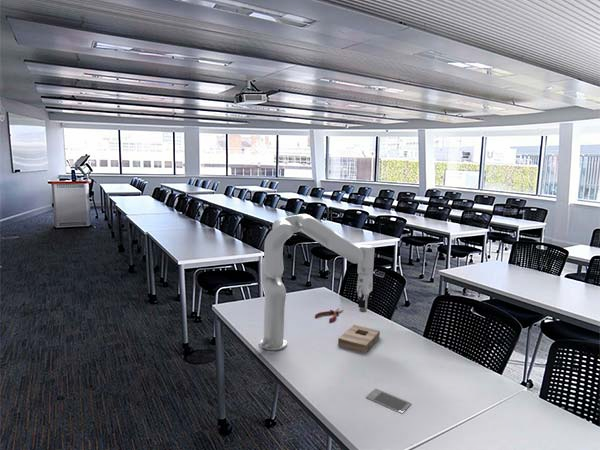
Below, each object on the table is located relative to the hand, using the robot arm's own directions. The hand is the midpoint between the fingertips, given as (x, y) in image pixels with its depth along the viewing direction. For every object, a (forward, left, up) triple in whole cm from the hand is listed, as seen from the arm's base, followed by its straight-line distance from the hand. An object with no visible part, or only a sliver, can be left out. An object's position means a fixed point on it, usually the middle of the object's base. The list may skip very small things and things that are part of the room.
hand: (363, 305), depth 201 cm
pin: (0, 0, -3) cm, 3 cm away
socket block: (-3, 0, -17) cm, 18 cm away
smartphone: (-45, -28, -18) cm, 56 cm away
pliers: (+20, +25, -18) cm, 36 cm away
